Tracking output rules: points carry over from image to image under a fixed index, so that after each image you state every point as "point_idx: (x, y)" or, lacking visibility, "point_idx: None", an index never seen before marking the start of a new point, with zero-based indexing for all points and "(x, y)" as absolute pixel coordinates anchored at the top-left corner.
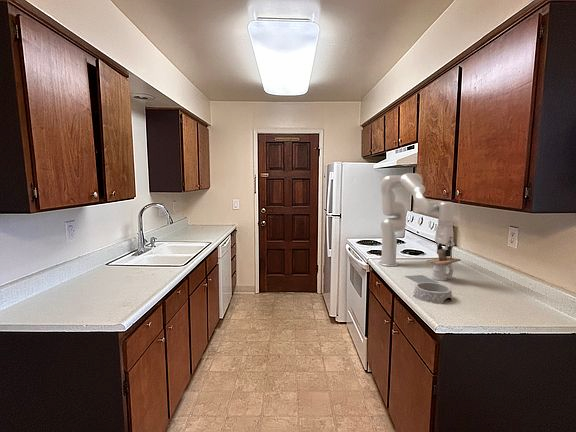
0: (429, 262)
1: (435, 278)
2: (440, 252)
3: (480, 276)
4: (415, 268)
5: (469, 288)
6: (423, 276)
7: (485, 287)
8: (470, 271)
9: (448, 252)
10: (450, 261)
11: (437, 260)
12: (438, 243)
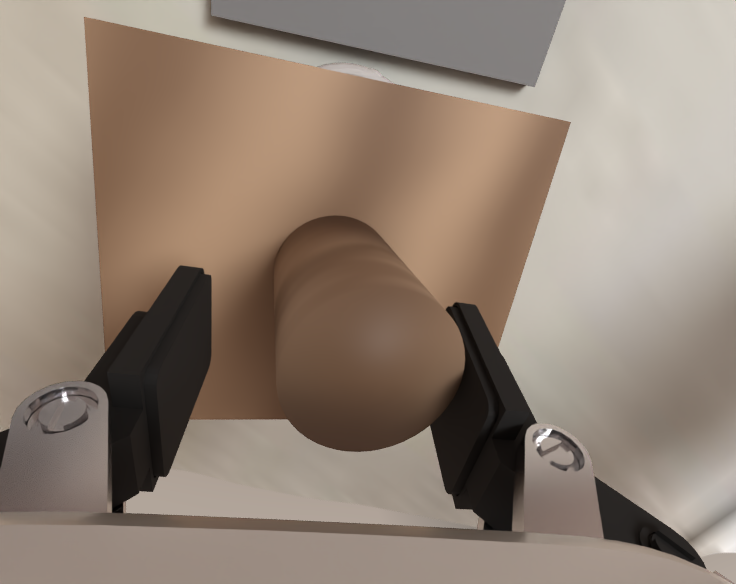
0: (484, 104)
1: (321, 66)
2: (319, 280)
3: (313, 476)
4: (723, 248)
5: (59, 213)
6: (488, 47)
7: (77, 342)
8: (418, 497)
9: (108, 358)
10: (123, 254)
11: (405, 220)
12: (545, 532)
